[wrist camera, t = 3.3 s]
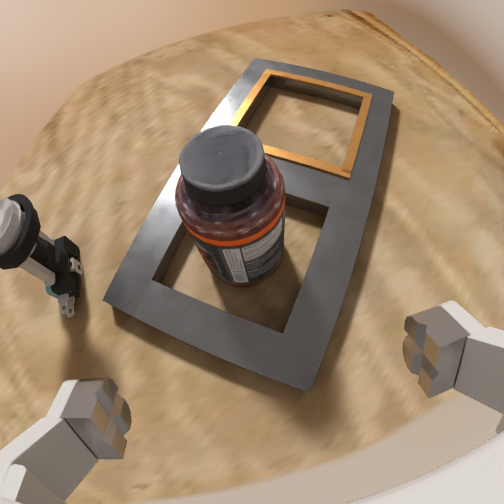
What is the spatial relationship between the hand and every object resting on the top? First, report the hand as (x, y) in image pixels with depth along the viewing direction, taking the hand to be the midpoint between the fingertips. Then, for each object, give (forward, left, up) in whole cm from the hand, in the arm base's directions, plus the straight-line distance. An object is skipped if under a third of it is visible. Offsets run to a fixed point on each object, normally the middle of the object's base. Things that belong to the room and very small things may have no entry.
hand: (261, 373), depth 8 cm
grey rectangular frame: (-5, +15, -14) cm, 21 cm away
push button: (-18, 0, -14) cm, 23 cm away
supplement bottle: (-5, +8, -14) cm, 17 cm away
